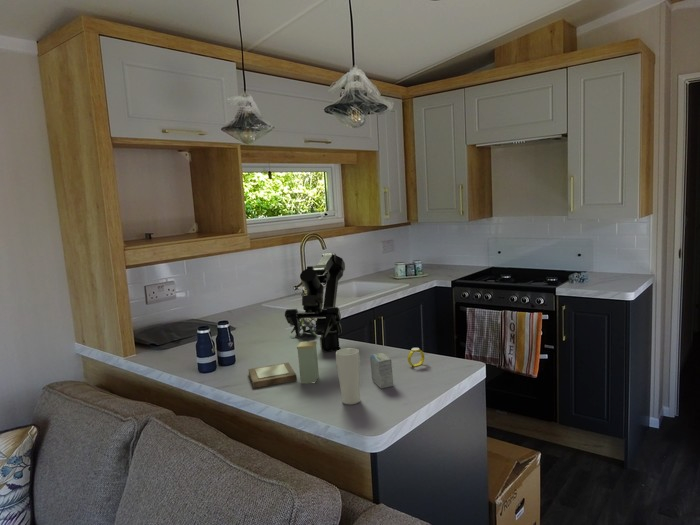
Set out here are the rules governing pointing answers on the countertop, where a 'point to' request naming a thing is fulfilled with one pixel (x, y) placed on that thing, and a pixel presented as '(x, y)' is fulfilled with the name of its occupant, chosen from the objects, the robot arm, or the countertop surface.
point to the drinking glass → (349, 374)
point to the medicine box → (381, 370)
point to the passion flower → (306, 325)
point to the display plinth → (272, 375)
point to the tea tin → (308, 361)
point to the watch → (411, 355)
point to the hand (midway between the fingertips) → (310, 337)
